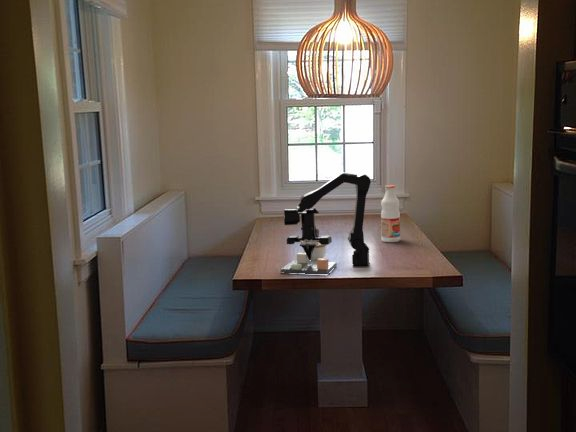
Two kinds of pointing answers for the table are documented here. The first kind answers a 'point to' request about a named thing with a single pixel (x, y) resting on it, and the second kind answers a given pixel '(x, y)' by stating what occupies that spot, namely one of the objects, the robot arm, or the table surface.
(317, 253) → the lidded jar
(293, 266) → the button
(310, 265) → the panel
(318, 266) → the slider
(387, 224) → the fruit juice
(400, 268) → the table surface
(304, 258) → the slider
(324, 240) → the robot arm
